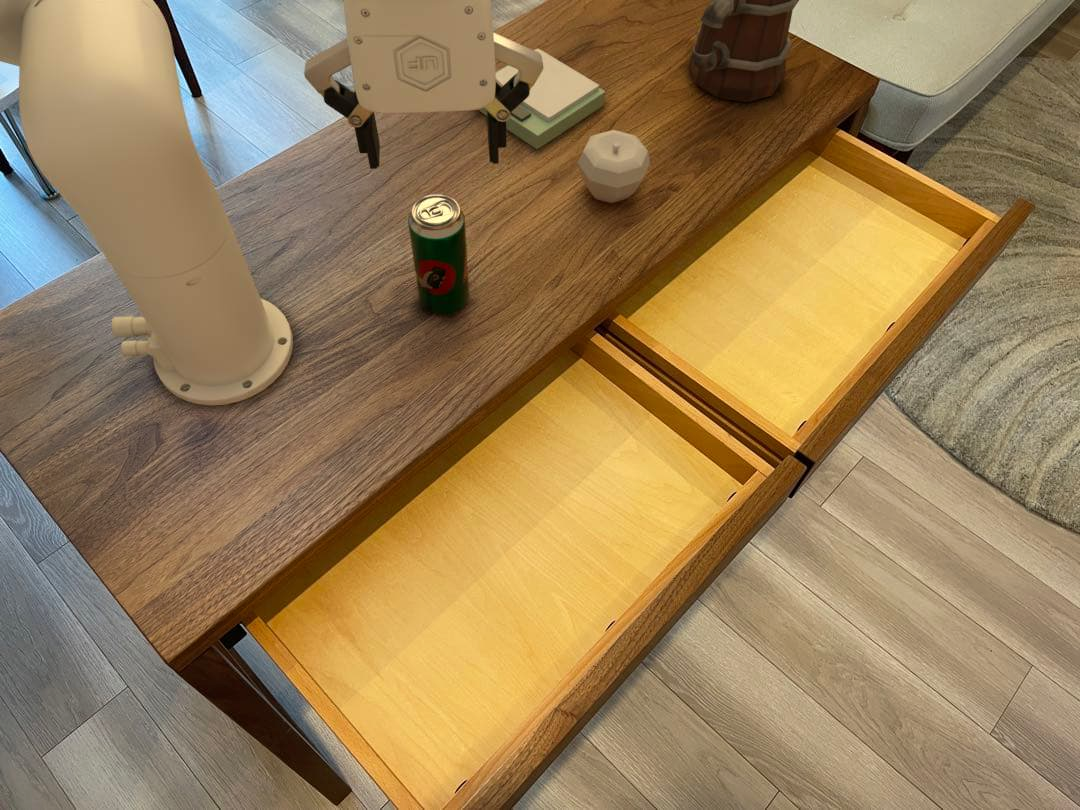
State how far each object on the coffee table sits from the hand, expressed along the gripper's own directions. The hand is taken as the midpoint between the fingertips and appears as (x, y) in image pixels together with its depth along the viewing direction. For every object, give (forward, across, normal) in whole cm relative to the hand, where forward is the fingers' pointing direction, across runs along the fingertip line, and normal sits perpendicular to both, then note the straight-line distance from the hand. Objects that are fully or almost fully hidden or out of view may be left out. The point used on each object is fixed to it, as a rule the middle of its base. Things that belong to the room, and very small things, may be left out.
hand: (434, 154), depth 64 cm
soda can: (+18, -1, 0) cm, 18 cm away
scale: (+18, +12, +31) cm, 38 cm away
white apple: (+19, +18, +15) cm, 30 cm away
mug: (+19, +36, +34) cm, 54 cm away
